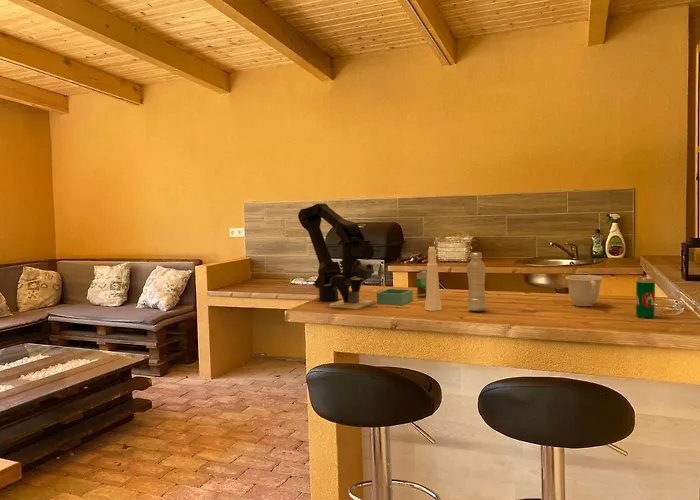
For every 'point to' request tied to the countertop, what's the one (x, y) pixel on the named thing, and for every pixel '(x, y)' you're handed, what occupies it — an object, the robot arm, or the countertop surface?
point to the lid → (352, 301)
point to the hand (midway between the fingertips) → (351, 300)
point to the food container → (421, 283)
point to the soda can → (645, 297)
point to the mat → (355, 309)
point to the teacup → (584, 289)
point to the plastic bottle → (476, 283)
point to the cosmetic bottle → (432, 283)
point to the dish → (394, 297)
